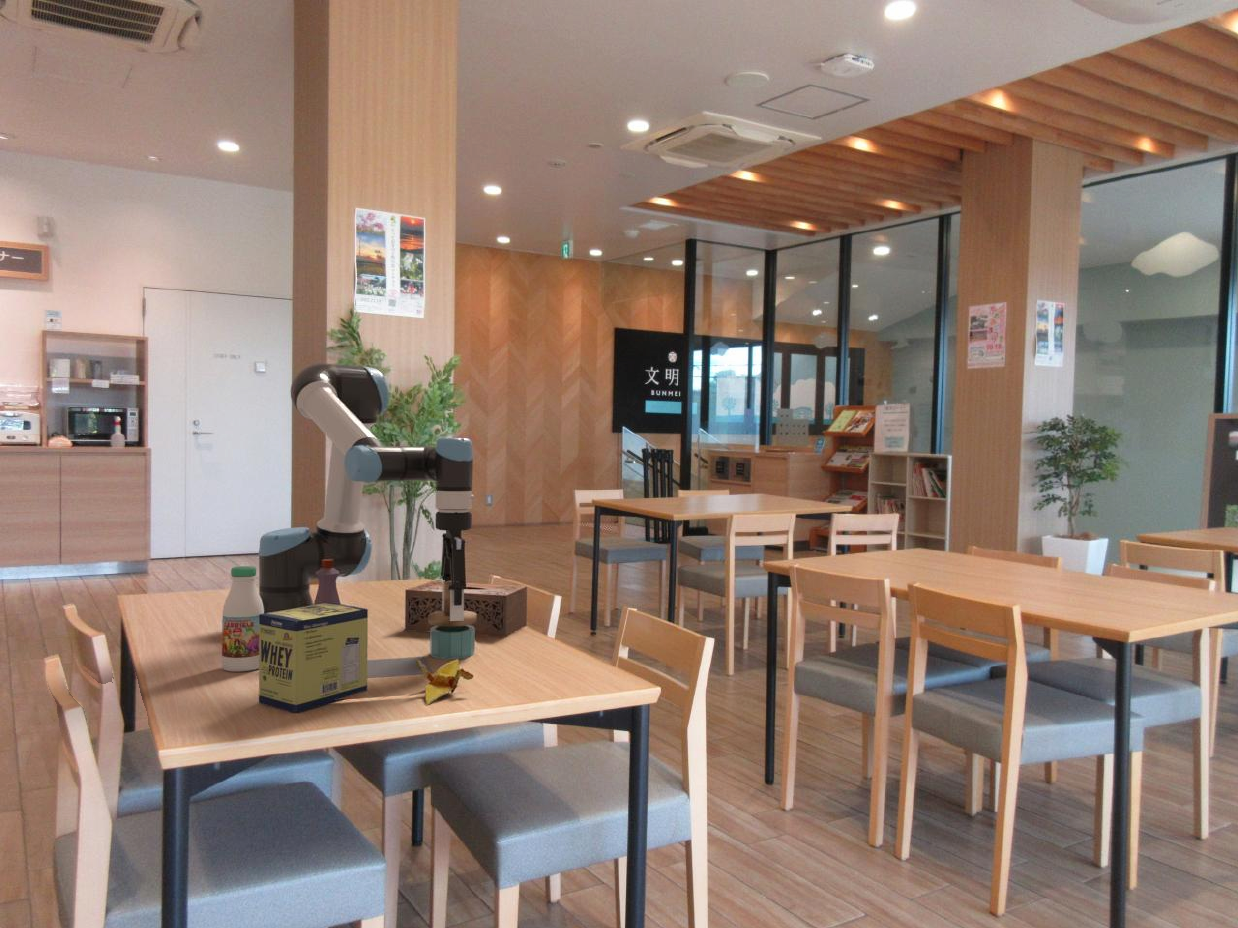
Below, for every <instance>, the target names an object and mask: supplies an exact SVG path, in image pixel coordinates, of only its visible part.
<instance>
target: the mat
mask: <svg viewBox="0 0 1238 928" xmlns="http://www.w3.org/2000/svg"><path fill="white" fill-rule="evenodd" d="M417 660H419V661H420V662H421V664H422V665H424V666H426V669H427V671H428V672H430V673H431V674H432V675H433V674H434V672H433V670H432V668H431V666H430V664H429V662H428V660H427V659H426V657H425V656H416V657H414V656H413V657H397V658H384V659H382V658H381V659H367V679H373V678H387V677H402V676H414V675H415V676H416V675H423V672H422V671H421V668H419V667H418V665H417ZM423 662H424V663H423Z"/></svg>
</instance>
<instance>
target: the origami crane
mask: <svg viewBox="0 0 1238 928" xmlns="http://www.w3.org/2000/svg"><path fill="white" fill-rule="evenodd" d="M459 661H460V660H459V659H454V660H452V661H449V662H447V663H445V664H444V665H441V666H440V667H439V668H438V669H436V671H435V672H433V673H432V674H431V673H430V672H428V671H427V669H426V666H424V665H422V664H421V662H420V661H419V660H417V665H418V667H419V668H421V671H422V672H423V674H422V675H423V676H424V677H425V678H426V679H427V681H428V684H426V685H425V686H424V687H425V690H424V691H425V706H428V705H430V704H431V703H432V702H435V701H437V699H439V698H440V697H442V696H444V695H445V694H446V693H449V692H451V693H453V692H455V689H456V688H457V685H458V683H459V680H460V678H463V679H465V680H472V679H474V674H473V673H470V672H469V670H467V671H466V670H465V669H464V668H463V667H461V669H460V662H459ZM423 663H424V662H423Z"/></svg>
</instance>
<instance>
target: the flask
mask: <svg viewBox="0 0 1238 928" xmlns="http://www.w3.org/2000/svg"><path fill="white" fill-rule="evenodd" d="M338 575H339V572H338V571H337V570H336V569H334V568H333V559H324V560H322V568H321V569H320V570H319V571H317V572H316V576H317V578H318V579H317V580H318V586H317V587H318V589H317V592H316V595H315V600H314V601H313V604H314V605H317V604H323V603H329V602H332V603H338V604H342V603H341V600H340V597H339V592H338V589H337V578H339V577H338Z"/></svg>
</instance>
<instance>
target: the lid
mask: <svg viewBox="0 0 1238 928" xmlns="http://www.w3.org/2000/svg"><path fill="white" fill-rule="evenodd" d="M444 581H445V580H444ZM449 586H451V580H450V581H445V585H444V611H437V612H433V613H430V614H429V615H428V623H429V624H431V625H435V626H446V627H454V626H466V625H471V624H474V623H476V613H475V612H471V611H464V621H450V590H448V587H449Z"/></svg>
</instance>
